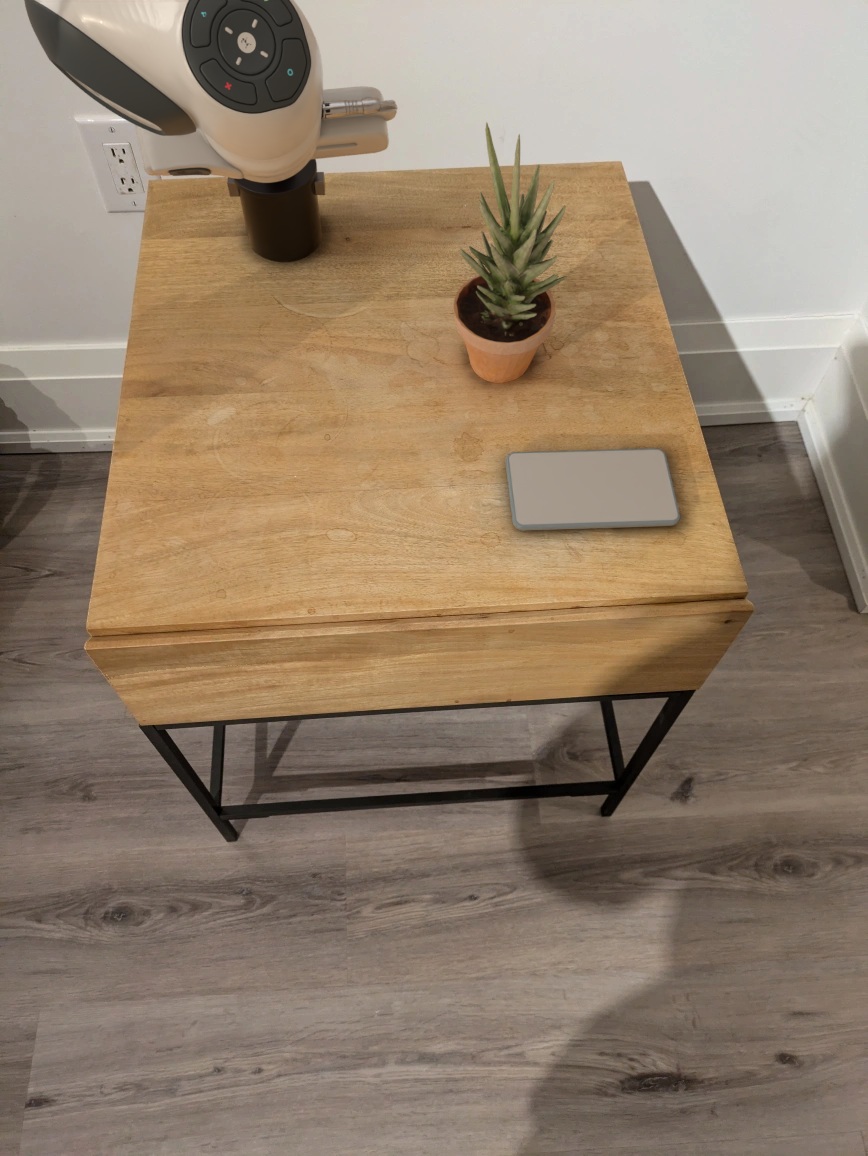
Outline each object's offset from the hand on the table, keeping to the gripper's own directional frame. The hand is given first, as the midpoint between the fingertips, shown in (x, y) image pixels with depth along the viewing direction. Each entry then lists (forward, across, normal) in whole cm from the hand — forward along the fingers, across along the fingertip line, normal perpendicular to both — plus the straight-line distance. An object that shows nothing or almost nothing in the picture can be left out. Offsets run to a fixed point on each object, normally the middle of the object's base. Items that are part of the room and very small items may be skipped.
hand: (268, 153), depth 75 cm
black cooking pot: (+17, 0, +5) cm, 18 cm away
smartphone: (-11, -24, +33) cm, 42 cm away
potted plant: (+1, -19, +21) cm, 28 cm away
